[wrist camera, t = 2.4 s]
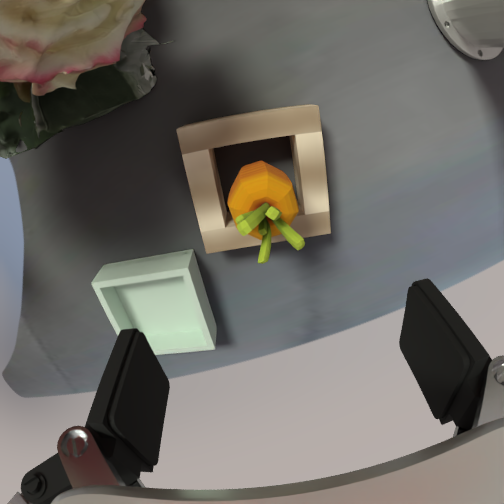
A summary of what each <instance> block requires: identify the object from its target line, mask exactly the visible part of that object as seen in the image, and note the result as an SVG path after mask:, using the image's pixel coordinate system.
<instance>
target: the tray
mask: <svg viewBox="0 0 504 504" xmlns="http://www.w3.org/2000/svg"><path fill="white" fill-rule="evenodd" d="M91 284H92V286H93V288H94V290H95V292H96V294H97V296H98V298H99V300H100V302H101V304H102V306H103V308H104V310H105V312H106V314H107V316H108V318H109V320H110V322H111V324H112V326H113V328H114V329H115V331H116V333H117V335H119V333H120V331H121V330H122V329H132V328H137V329H138V330H139V331H140V332H143V333H144V334H145V336H146V338H147V340H148V342H149V344H150V346H151V348H152V350H153V352H154V354H155V355H158V354H172V353H183V352H194V351H204V350H213V349H215V346H216V333H217V326H216V323H215V320H214V316H213V313H212V310H211V307H210V304H209V300H208V297H207V294H206V291H205V287H204V284H203V281H202V277H201V274H200V271H199V267H198V264H197V260H196V257H195V253H194V250H193V249H190V250H184V251H178V252H172V253H167V254H161V255H155V256H150V257H144V258H138V259H133V260H127V261H121V262H116V263H110V264H105V265H103V266H102V268H101V269H100V271H99V272H98V274H97V275H96V277H95V278H94V280H93V281H92V283H91Z"/></svg>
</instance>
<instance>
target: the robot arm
mask: <svg viewBox="0 0 504 504" xmlns="http://www.w3.org/2000/svg"><path fill="white" fill-rule="evenodd" d="M427 1H428V5H429V8H430V11H431V13H432V16H433V18H434V20H435V22H436V24H437V25H438V27H439V28H440V30H441V31H442V33H443V34H444V36H445V37H446V38H447V39H448V40H449V42H450V43H451V44H452V45H453V46H455V47H456V48H457V49H458V50H459V51H461V52H462V53H463V54H465V55H467V56H469V57H471V58H474V59H477V60H490V59H493V58H495V57H497V56H498V55H499V54H500V53H501V51H502V49H503V47H504V0H427ZM399 343H400V349H401V351H402V353H403V355H404V357H405V359H406V361H407V363H408V365H409V366H410V368H411V370H412V372H413V374H414V376H415V378H416V380H417V382H418V384H419V386H420V388H421V391H422V392H423V395H424V397H425V399H426V401H427V403H428V405H429V407H430V409H431V411H432V414H433V416H434V417H435V418H436V419H439V420H440V422H441V424H442V425H443V424H445V423H448V422H450V421H452V420H453V421H454V423H455V425H456V428H455V432H454V435H453V438H450V439H448V440H446V441H444V442H441V443H438V444H436V445H433V446H431V447H428V448H426V449H423V450H420V451H418V452H415V453H412V454H409V455H406V456H404V457H401V458H398V459H395V460H392V461H388V462H385V463H382V464H378V465H375V466H372V467H368V468H365V469H361V470H357V471H353V472H349V473H345V474H340V475H335V476H331V477H326V478H321V479H316V480H310V481H304V482H298V483H291V484H284V485H276V486H267V487H257V488H244V489H226V490H180V489H157V488H156V489H155V488H146V487H145V486H144V484H143V483H142V482H141V480H140V479H139V478H140V472H153V466H154V465H156V464H157V463H158V458H159V451H160V444H161V437H162V431H163V424H164V418H165V412H166V406H167V400H168V394H169V388H170V387H169V380H168V378H167V376H166V375H165V373H164V371H163V369H162V367H161V365H160V364H159V362H158V360H157V358H156V356H155V354H154V352H153V350H152V348H151V346H150V344H149V342H148V340H147V338H146V336H145V334H144V333H143V332H140V331H139V330H138V329H137V328H132V329H122V330H121V331H120V333H119V335H118V338H117V340H116V343H115V345H114V348H113V350H112V353H111V355H110V358H109V361H108V363H107V366H106V368H105V371H104V373H103V376H102V379H101V381H100V384H99V387H98V390H97V392H96V396H95V398H94V401H93V404H92V407H91V410H90V413H89V416H88V419H87V422H86V425H85V427H81V426H74V427H71V428H68V429H67V430H66V431H65V432H63V434H62V435H61V436H60V438H59V440H58V445H57V449H58V453H57V454H55V455H54V456H52V457H51V458H49V459H47V460H46V461H44V462H43V463H41V464H40V465H38V466H37V467H35V468H33V469H32V470H30V471H29V472H28V473H26V474H25V476H24V477H23V479H22V483H21V491H22V493H21V494H20V493H19V492H17V493H16V494H15V495H14V497H13V498H12V499H11V500H10V501H9V503H8V504H504V356H498V357H496V358H494V359H493V360H492V359H491V358H490V356H489V354H488V353H487V352H486V350H485V349H484V347H483V346H482V345H481V343H480V342H479V341H478V339H477V338H476V337H475V335H474V334H473V332H472V331H471V330H470V328H469V327H468V326H467V325H466V323H465V322H464V321H463V320H462V318H461V317H460V316H459V314H458V313H457V312H456V311H455V309H454V308H453V307H452V306H451V304H450V303H449V302H448V301H447V300H446V298H445V297H444V296H443V295H442V293H441V292H440V291H439V290H438V289H437V287H436V286H435V285H434V284H433V283H432V282H431V280H429V279H423V280H419V281H415V282H413V284H412V286H411V287H409V289H408V294H407V301H406V307H405V314H404V319H403V325H402V330H401V336H400V341H399Z"/></svg>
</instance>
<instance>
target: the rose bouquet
mask: <svg viewBox="0 0 504 504" xmlns="http://www.w3.org/2000/svg"><path fill="white" fill-rule="evenodd" d="M144 2H145V0H0V157H3V158H5V159H7V158H9V157H11V156H14V155H16V154H19V153H21V152H19V153H18V152H16V148H17V146H18V143H19V141H20V140H22V141H24V143H25V144H26V146H27V150H30V149H32V148H37V147H38V146H39V145H40V144H42V143H43V142H45V141H46V140H47V139H49V138H50V137H52V136H53V135H55V134H57V133H59V132H62V129H65V128H67V127H72V126H77V125H81V124H84V123H86V122H88V121H90V120H93V119H95V118H98V117H100V116H102V115H105V114H107V113H109V112H111V111H112V110H114V109H116V108H118V107H119V106H121V105H123V104H126V103H128V102H130V101H133V100H138V99H139V98H141V97H143V96H144V95H146V94H148V93H149V92H150V90H151V88H153V87H154V85H155V83H156V80H157V77H156V76H155V74H154V72H155V68H154V67H153V66H152V64H151V58H150V55H149V53H150V49H149V51H147V50H146V47H147V46H148V45H159V43H158V42H157V41H156V40H155V39H153V38H152V37H151V36H150V35H149V34H148V33H146V32H145V31H144V30H143V29H142V28H143V27H144V26H143V25H144V22H145V21H146V20H147V19H146V17H145V16H144V15H143V14H142V13H141V8H142V5H143V3H144ZM170 42H172V41H170ZM170 42H166V43H162V44H167V43H170ZM27 150H25V151H27ZM23 152H24V151H23Z"/></svg>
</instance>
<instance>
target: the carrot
mask: <svg viewBox="0 0 504 504" xmlns="http://www.w3.org/2000/svg"><path fill="white" fill-rule="evenodd" d="M227 204H228V207H229V209H230V212H231V215H232V218H233V220H234V223H235V226H236V228H237V230H238V231H239V233H240V234H241V235H242V236H245V235H247V234H248V235H250V236H252V237H255V238H257V239H259V240H262V243H261V248H260V253H259V258H258V263H262V264H263V263H265V262H267V261H268V259H269V255H270V249H271V237H274V236H277V235H280V234H282V235H283V236H284V237H285V239H286V240H287V241H288V242H289V243H290V244H291V245H292V246H293V247H294V248H296V249H297V250H300V249H302V248H303V247H304V246H305V242H304V239H303V238H302V237H301V236H300V235H299V234H298V233H297V232H295V231H294V230H293V229H292V228H291V227H290V225H291V223H292V221H293V220H294V218H295V217H296V215H297V213H298V212H299V207H298V203H297V200H296V196H295V193H294V189H293V186H292V182H291V181H290V180H289V178H288V177H287V176H286V174H285V173H284V172H283V171H281V170H279V169H277V168H275V167H273V166H271V165H269V164H267V163H265V162H263V161H258V162H254V163H251V164H248V165H245V166H243V167H242V168H241V170H240V171H239V173H238V175H237V177H236V179H235V181H234V183H233V185H232V187H231V190H230V193H229V197H228V202H227Z"/></svg>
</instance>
